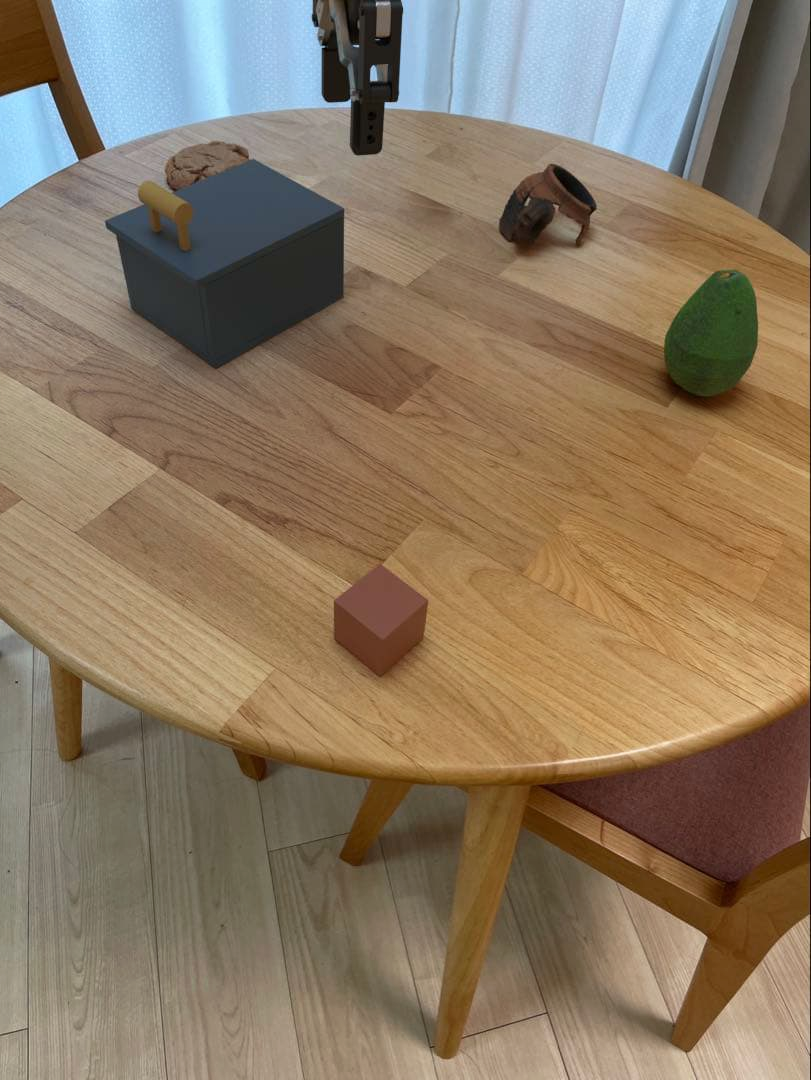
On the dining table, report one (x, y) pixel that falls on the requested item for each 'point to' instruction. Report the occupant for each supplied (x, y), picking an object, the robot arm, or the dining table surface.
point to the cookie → (203, 162)
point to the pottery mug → (546, 204)
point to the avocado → (713, 335)
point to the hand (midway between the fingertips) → (350, 125)
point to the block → (379, 619)
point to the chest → (239, 294)
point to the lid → (222, 220)
